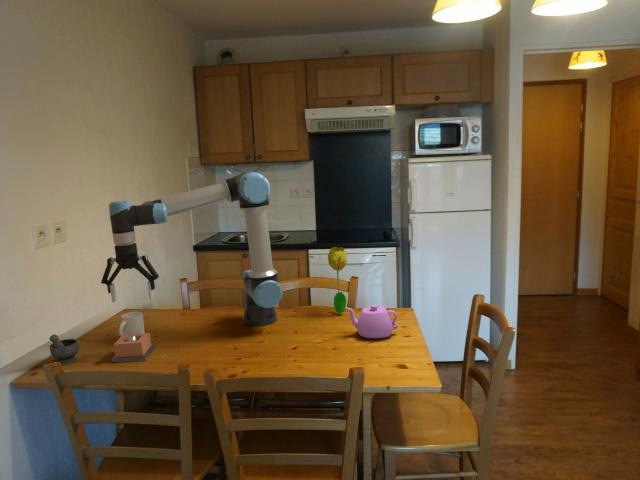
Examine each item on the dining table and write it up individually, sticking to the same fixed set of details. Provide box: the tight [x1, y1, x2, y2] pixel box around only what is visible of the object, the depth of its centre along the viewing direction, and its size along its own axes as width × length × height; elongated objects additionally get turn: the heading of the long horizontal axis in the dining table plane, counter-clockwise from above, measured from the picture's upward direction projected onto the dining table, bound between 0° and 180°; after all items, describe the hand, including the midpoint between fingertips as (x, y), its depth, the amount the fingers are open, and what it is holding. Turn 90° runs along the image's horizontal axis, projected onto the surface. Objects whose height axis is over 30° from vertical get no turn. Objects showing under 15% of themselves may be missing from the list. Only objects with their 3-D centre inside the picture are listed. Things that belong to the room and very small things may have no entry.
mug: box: [118, 311, 146, 338], centre depth 196 cm, size 12×8×10 cm
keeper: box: [110, 335, 156, 364], centre depth 180 cm, size 12×12×8 cm
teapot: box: [345, 304, 399, 340], centre depth 186 cm, size 20×13×12 cm, turn 84°
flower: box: [327, 246, 348, 315], centre depth 211 cm, size 9×8×30 cm
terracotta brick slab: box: [113, 332, 152, 358], centre depth 180 cm, size 10×10×5 cm
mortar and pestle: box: [48, 333, 80, 366], centre depth 177 cm, size 11×9×12 cm
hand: (133, 299), depth 179 cm, fingers open, 13 cm apart
